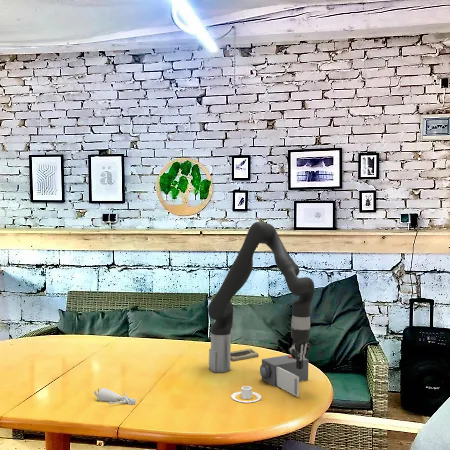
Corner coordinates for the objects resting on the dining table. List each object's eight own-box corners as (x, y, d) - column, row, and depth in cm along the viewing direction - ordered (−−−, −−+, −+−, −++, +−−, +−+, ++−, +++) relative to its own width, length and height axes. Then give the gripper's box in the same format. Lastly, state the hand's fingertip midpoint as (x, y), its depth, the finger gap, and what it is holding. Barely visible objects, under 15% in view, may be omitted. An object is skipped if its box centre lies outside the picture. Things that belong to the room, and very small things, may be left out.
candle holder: (251, 406, 194) (252, 395, 194) (225, 399, 200) (225, 389, 200) (266, 396, 204) (266, 386, 204) (240, 390, 210) (240, 380, 210)
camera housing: (269, 387, 213) (269, 364, 213) (256, 380, 222) (257, 358, 222) (308, 379, 223) (308, 357, 223) (294, 373, 232) (294, 352, 232)
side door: (274, 385, 214) (274, 366, 214) (277, 384, 215) (277, 366, 215) (295, 397, 201) (296, 377, 201) (299, 396, 202) (299, 376, 202)
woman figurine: (105, 382, 205) (143, 391, 199) (104, 392, 206) (142, 402, 199) (87, 391, 195) (127, 401, 188) (86, 403, 195) (127, 413, 188)
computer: (232, 362, 248) (232, 356, 248) (224, 358, 255) (224, 351, 255) (258, 357, 256) (258, 351, 256) (249, 353, 263) (249, 347, 263)
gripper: (303, 322, 212) (302, 363, 212) (283, 327, 203) (282, 369, 203) (318, 325, 206) (316, 367, 207) (297, 331, 197) (296, 374, 198)
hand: (299, 368), depth 205 cm, fingers closed
